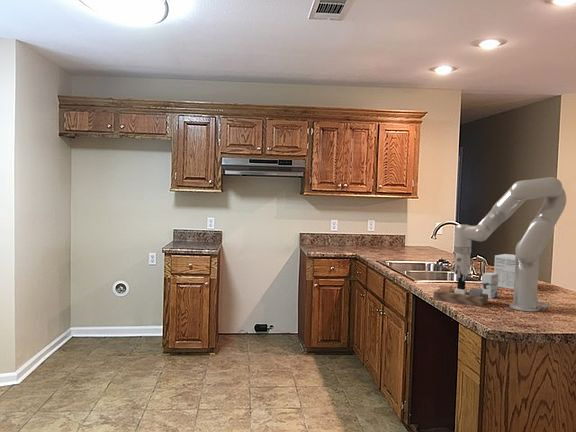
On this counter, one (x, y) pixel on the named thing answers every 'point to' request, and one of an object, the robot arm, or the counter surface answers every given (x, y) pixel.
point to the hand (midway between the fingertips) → (461, 288)
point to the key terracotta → (446, 288)
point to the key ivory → (460, 291)
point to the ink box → (490, 284)
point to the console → (460, 298)
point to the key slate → (476, 292)
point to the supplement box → (505, 270)
